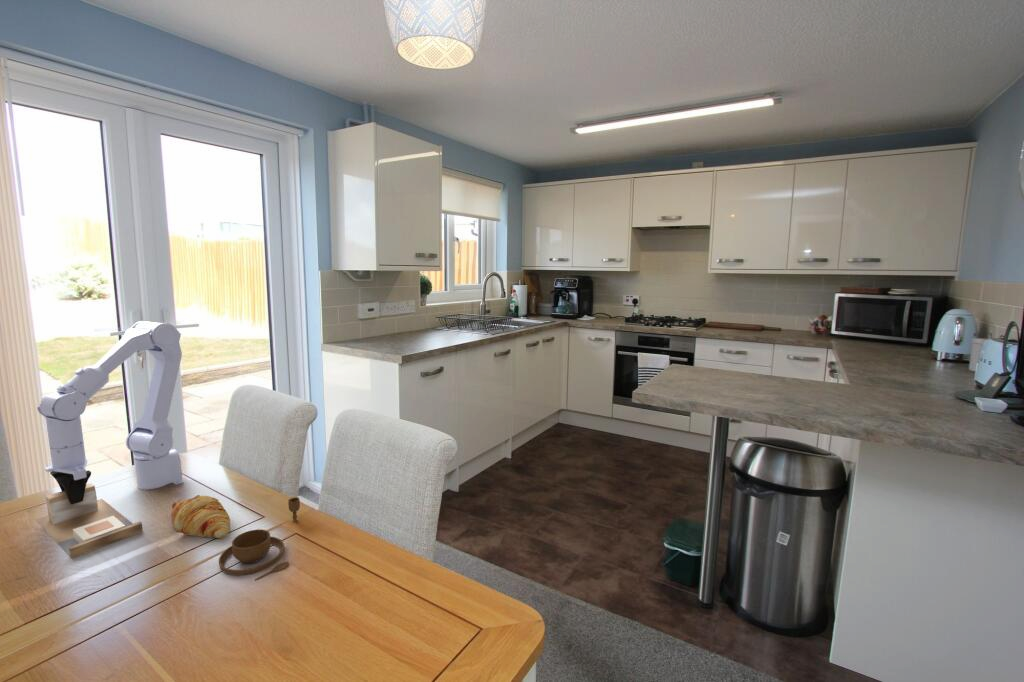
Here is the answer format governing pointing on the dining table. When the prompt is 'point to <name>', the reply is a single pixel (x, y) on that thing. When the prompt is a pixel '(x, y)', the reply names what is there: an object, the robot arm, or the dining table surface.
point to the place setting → (257, 547)
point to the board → (65, 529)
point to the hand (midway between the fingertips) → (74, 500)
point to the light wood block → (70, 505)
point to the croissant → (201, 517)
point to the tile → (97, 529)
